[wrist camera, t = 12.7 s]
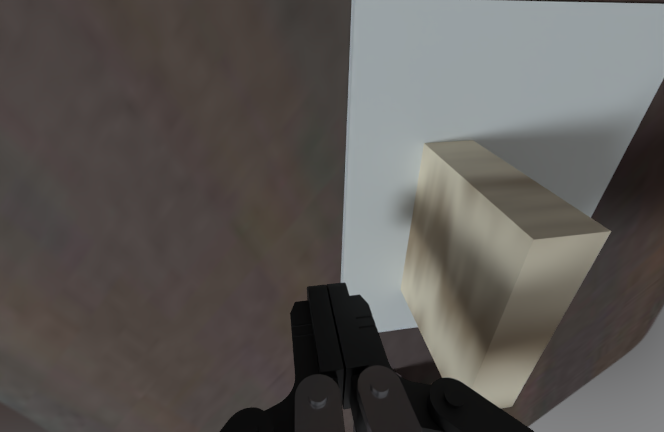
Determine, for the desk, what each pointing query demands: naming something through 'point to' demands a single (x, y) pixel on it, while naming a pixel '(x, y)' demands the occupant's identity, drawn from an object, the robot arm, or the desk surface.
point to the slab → (491, 266)
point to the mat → (484, 110)
